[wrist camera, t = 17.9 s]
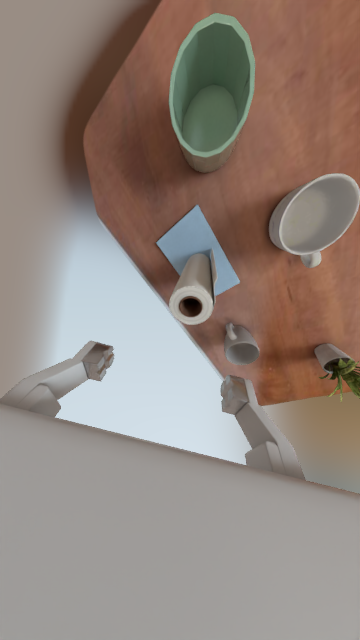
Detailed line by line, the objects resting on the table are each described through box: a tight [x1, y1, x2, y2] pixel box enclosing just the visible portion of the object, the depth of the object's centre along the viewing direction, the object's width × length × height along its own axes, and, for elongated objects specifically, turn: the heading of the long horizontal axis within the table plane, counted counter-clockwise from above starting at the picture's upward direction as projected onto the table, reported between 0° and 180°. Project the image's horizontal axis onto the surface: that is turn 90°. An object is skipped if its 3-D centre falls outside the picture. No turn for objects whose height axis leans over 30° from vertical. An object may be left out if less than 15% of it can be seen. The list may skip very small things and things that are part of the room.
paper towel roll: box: [169, 248, 218, 325], centre depth 28 cm, size 7×6×21 cm
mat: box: [156, 205, 240, 296], centre depth 37 cm, size 20×12×1 cm, turn 37°
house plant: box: [314, 344, 360, 400], centre depth 39 cm, size 14×14×16 cm
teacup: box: [269, 173, 360, 268], centre depth 27 cm, size 14×11×8 cm
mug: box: [224, 323, 259, 365], centre depth 43 cm, size 12×9×10 cm
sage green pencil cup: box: [169, 13, 255, 173], centre depth 22 cm, size 10×10×9 cm
